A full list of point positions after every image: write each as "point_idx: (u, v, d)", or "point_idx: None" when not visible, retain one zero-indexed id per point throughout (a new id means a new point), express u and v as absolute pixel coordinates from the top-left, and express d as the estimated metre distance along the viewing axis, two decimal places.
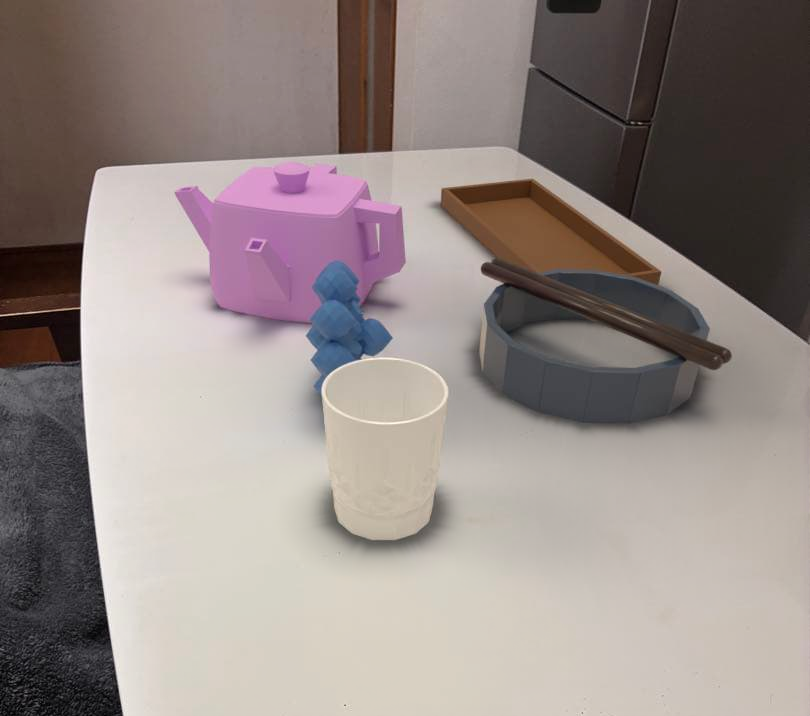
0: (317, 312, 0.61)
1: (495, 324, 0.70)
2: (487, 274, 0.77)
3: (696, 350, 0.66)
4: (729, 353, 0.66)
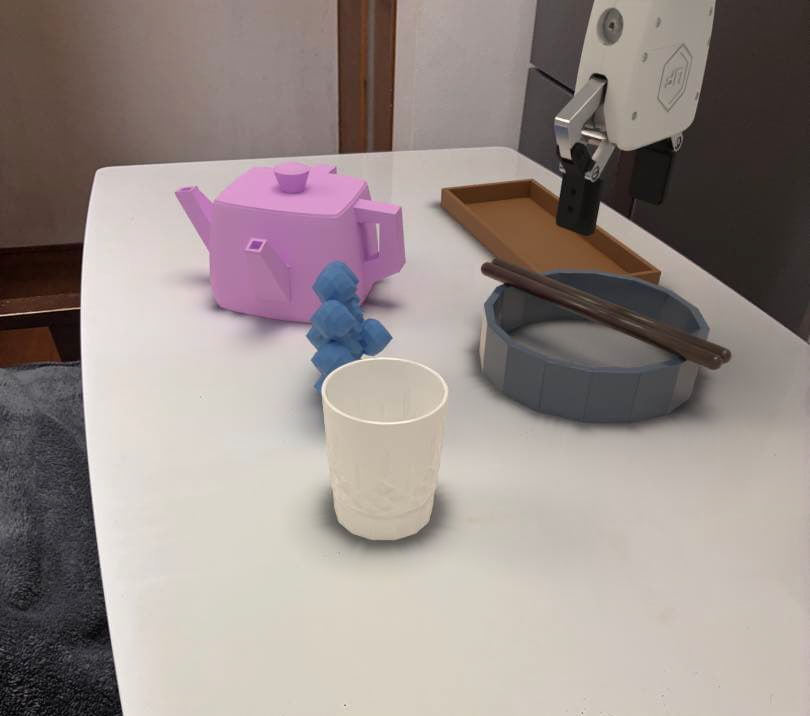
0: (317, 312, 0.61)
1: (495, 324, 0.70)
2: (487, 274, 0.77)
3: (696, 350, 0.66)
4: (729, 353, 0.66)
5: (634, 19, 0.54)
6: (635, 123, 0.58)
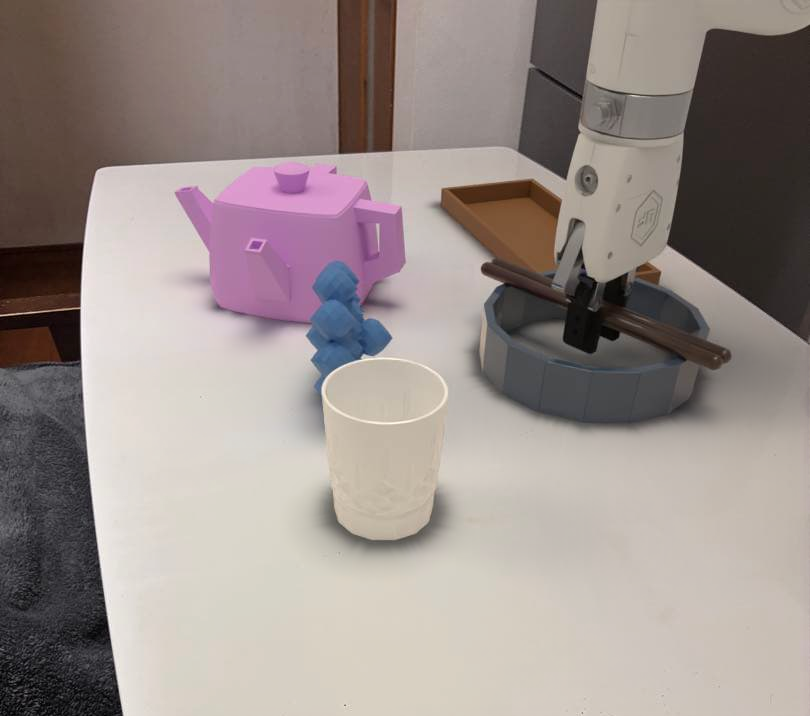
0: (317, 312, 0.61)
1: (495, 324, 0.70)
2: (487, 274, 0.77)
3: (696, 350, 0.66)
4: (729, 353, 0.66)
5: (607, 177, 0.60)
6: (611, 261, 0.64)
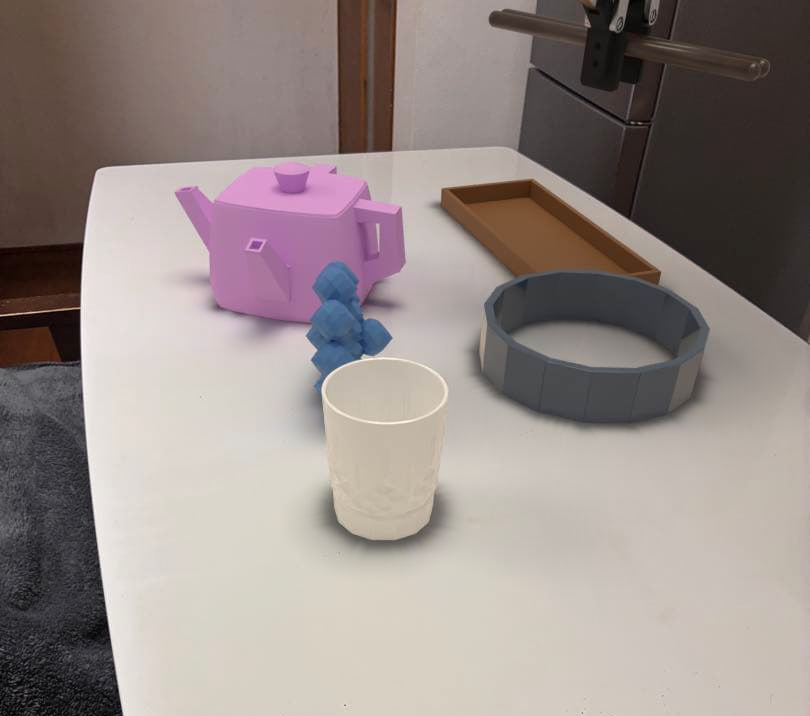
0: (317, 312, 0.61)
1: (495, 324, 0.70)
2: (496, 23, 0.70)
3: (731, 60, 0.60)
4: (767, 62, 0.60)
5: None
6: None
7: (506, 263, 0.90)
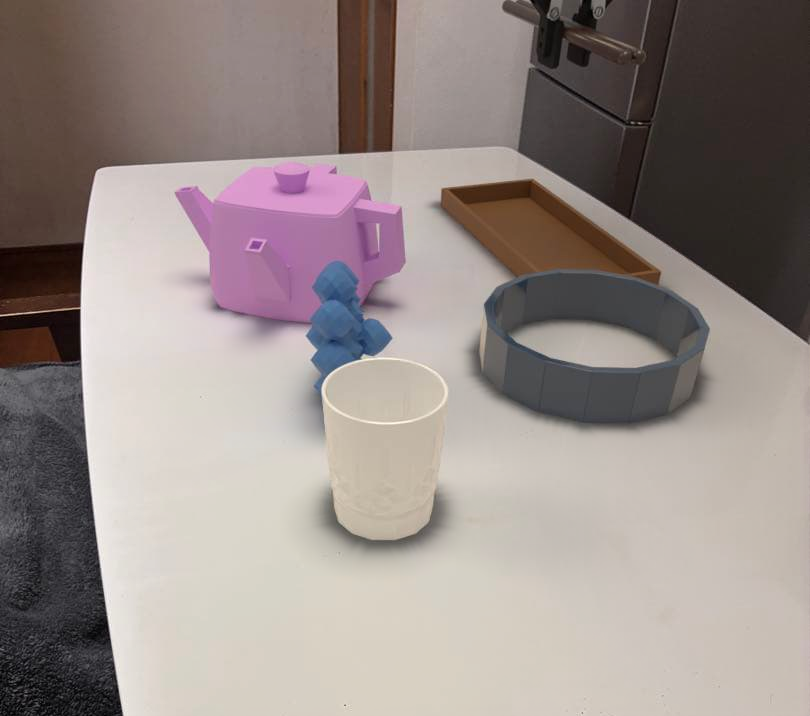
0: (317, 312, 0.61)
1: (495, 324, 0.70)
2: (504, 9, 0.88)
3: (613, 47, 0.74)
4: (641, 52, 0.73)
5: None
6: None
7: (506, 263, 0.90)
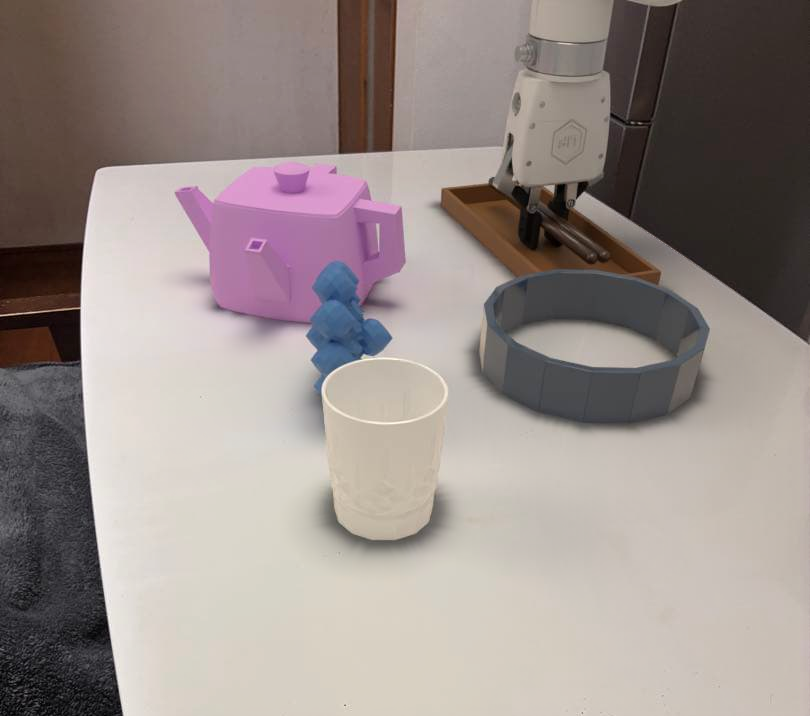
0: (317, 312, 0.61)
1: (495, 324, 0.70)
2: (490, 185, 1.00)
3: (581, 248, 0.85)
4: (606, 254, 0.84)
5: (525, 101, 0.82)
6: (530, 168, 0.86)
7: (506, 263, 0.90)
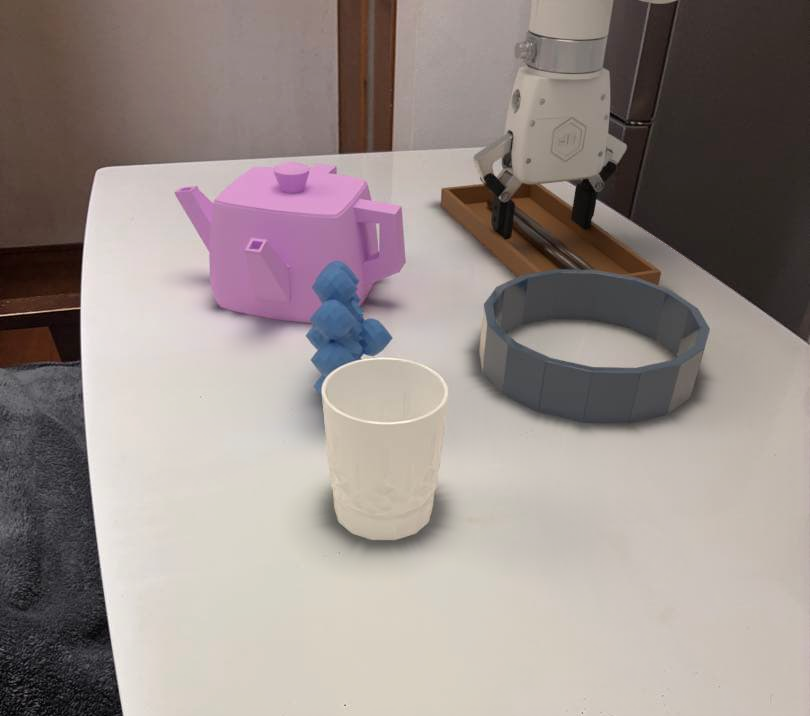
0: (317, 312, 0.61)
1: (495, 324, 0.70)
2: (489, 206, 1.02)
3: None
4: None
5: (525, 98, 0.82)
6: (530, 166, 0.86)
7: (506, 263, 0.90)
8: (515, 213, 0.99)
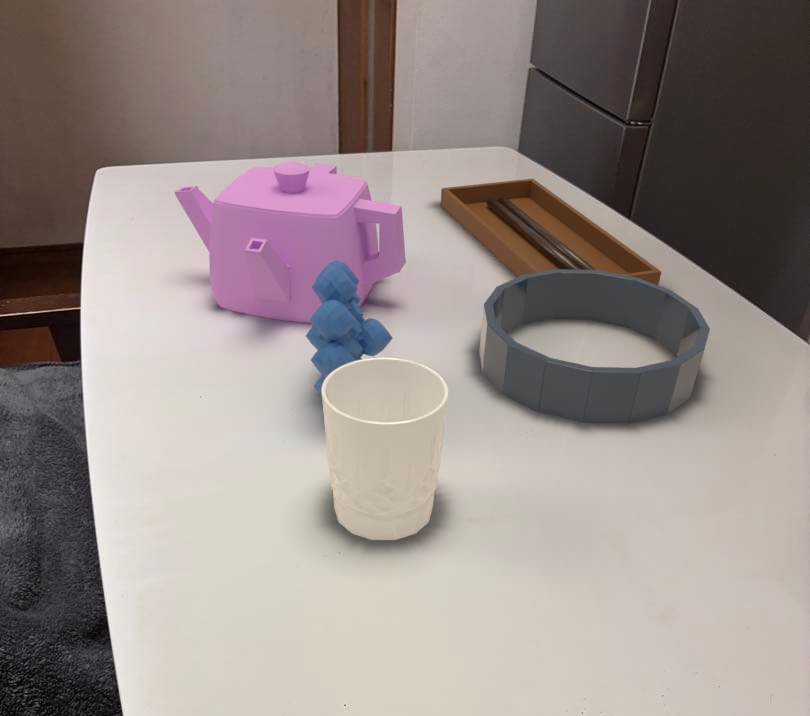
0: (317, 312, 0.61)
1: (495, 324, 0.70)
2: (489, 206, 1.02)
3: None
4: None
5: None
6: None
7: (506, 263, 0.90)
8: (515, 213, 0.99)
